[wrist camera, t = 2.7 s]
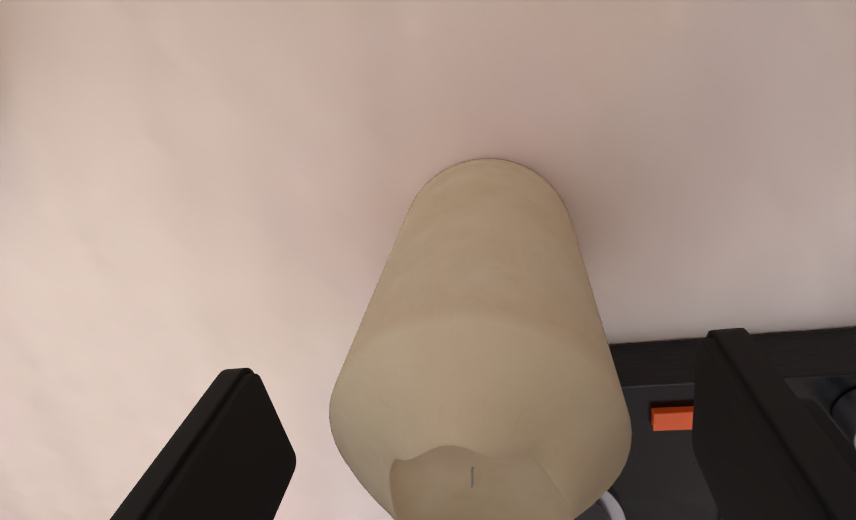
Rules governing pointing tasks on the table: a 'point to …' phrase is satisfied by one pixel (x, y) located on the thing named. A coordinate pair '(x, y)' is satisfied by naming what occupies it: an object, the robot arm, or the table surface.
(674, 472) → the hot plate
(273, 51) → the table surface
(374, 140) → the table surface
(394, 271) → the candle
